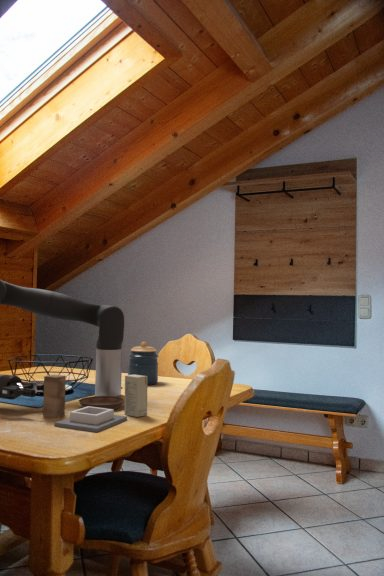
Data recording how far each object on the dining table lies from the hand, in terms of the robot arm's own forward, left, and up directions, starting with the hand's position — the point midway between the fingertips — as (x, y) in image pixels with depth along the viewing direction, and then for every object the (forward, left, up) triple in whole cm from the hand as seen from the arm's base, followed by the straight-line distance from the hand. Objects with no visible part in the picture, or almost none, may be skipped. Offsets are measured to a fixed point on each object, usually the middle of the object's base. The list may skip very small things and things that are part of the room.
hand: (44, 391), depth 156 cm
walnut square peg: (0, +4, -7) cm, 8 cm away
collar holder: (+2, +19, -7) cm, 20 cm away
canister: (-66, -1, -7) cm, 66 cm away
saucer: (-17, +10, -8) cm, 21 cm away
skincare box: (-13, +25, -7) cm, 29 cm away
